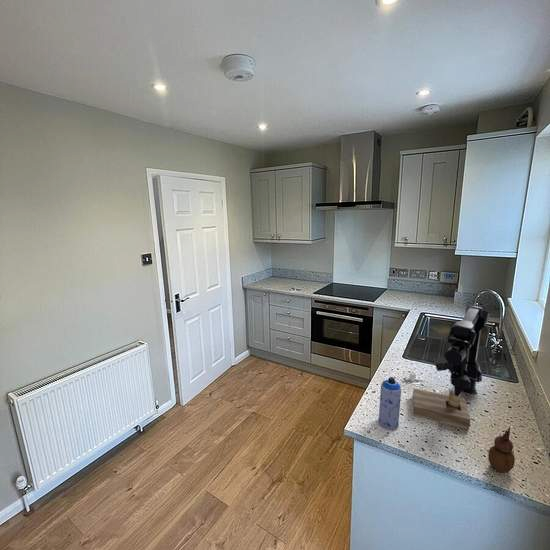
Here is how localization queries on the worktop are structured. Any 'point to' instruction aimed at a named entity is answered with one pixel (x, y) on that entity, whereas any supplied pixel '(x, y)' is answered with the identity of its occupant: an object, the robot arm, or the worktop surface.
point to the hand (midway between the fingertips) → (455, 390)
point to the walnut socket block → (439, 409)
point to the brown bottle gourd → (502, 453)
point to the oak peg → (453, 400)
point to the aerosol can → (389, 404)
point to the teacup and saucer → (414, 377)
